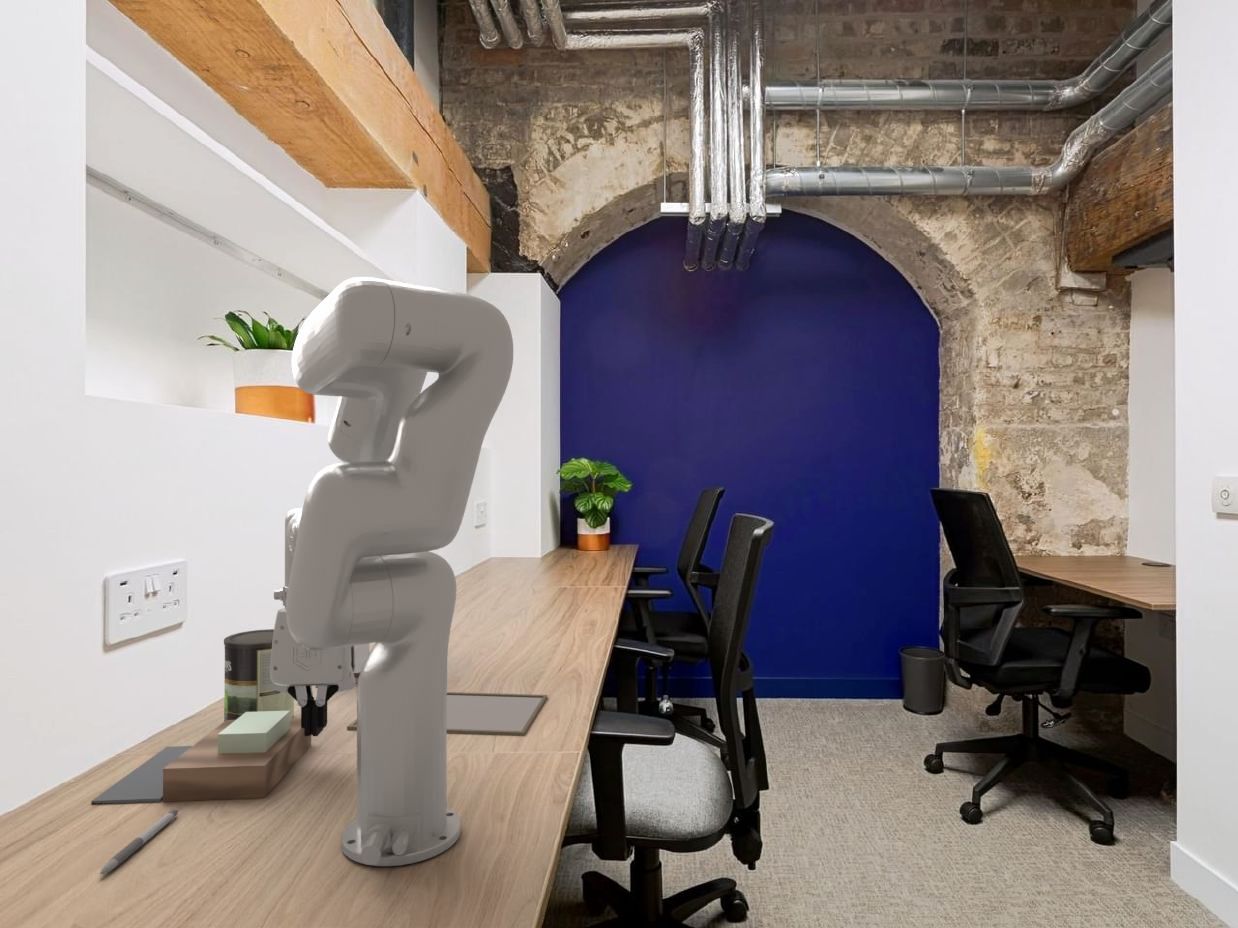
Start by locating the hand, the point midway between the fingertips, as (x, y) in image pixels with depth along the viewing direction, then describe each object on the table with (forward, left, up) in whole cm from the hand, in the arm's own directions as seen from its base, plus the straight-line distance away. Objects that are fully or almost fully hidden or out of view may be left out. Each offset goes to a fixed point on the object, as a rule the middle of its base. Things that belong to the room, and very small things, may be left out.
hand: (314, 732), depth 103 cm
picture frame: (+22, -16, -6) cm, 28 cm away
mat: (0, +19, -5) cm, 20 cm away
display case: (+46, +8, -5) cm, 47 cm away
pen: (-20, +12, -5) cm, 24 cm away
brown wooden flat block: (0, +9, -5) cm, 10 cm away
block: (0, +8, -1) cm, 8 cm away
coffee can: (+19, +14, -5) cm, 24 cm away
